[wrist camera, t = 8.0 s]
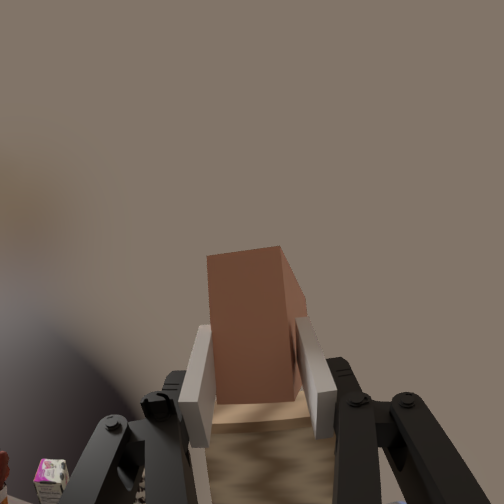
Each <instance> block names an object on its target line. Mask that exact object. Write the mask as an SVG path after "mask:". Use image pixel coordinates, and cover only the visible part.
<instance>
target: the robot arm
mask: <svg viewBox="0 0 504 504" xmlns="http://www.w3.org/2000/svg"><path fill="white" fill-rule="evenodd" d="M295 333H296V360H297V364H298V369H299V373H300V377H301V381H302V385H303V389H304V393H305V398H306V402H307V406H308V410H309V414H310V419H311V423H312V427H313V431H314V436H315V440H318V439H325V438H331V437H333V434H334V431H335V435H336V442H335V450H334V455H335V464H334V482H333V497H332V504H382V502H381V483H380V470H379V457H378V447H382V449H383V451H384V453H385V455H386V457H387V460H388V462H389V464H390V466H391V468H392V471H393V473H394V475H395V477H396V480H397V482H398V484H399V487H400V489H401V491H402V494H403V496H404V498H405V500H406V503H407V504H491V503H490V501H489V500H488V498H487V497H486V495H485V493H484V492H483V490H482V488H481V487H480V485H479V484H478V483H477V481H476V479H475V478H474V476H473V474H472V473H471V471H470V470H469V468H468V467H467V465H466V463H465V462H464V460H463V459H462V457H461V456H460V454H459V453H458V451H457V450H456V448H455V447H454V445H453V444H452V442H451V441H450V439H449V438H448V436H447V435H446V433H445V432H444V430H443V429H442V427H441V426H440V424H439V423H438V422H437V420H436V419H435V417H434V416H433V414H432V413H431V411H430V410H429V409H428V407H427V406H426V404H425V403H424V401H423V400H422V398H420V397H419V396H418V395H417V394H414V393H410V392H403V393H399V394H397V395H395V396H394V397H393V399H392V401H391V402H380V401H374V400H372V399H371V397H370V396H369V395H368V394H366V393H363V392H362V390H361V388H360V386H359V384H358V381H357V380H356V377H355V375H354V374H353V371H352V370H351V367H350V365H349V363H348V362H347V361H346V360H345V359H343V358H342V357H336V358H329V359H325V357H324V354H323V351H322V349H321V346H320V344H319V341H318V339H317V336H316V334H315V331H314V328H313V326H312V323H311V321H310V318H309V317H298V318H295ZM215 396H216V379H215V367H214V354H213V341H212V331H211V325H199V329H198V332H197V336H196V339H195V342H194V346H193V349H192V353H191V357H190V360H189V364H188V367H187V371H172V372H171V373H170V374H169V375H168V376H167V377H166V379H165V382H164V385H163V388H162V391H155V392H151V393H149V394H147V395H145V396H144V397H143V398H142V400H141V402H140V404H141V406H142V409H143V412H144V415H145V417H146V418H145V419H142V420H138V421H132V422H127V420H126V418H124V417H123V416H121V415H110V416H106V417H105V418H103V419H102V420H101V421H100V422H99V423H98V425H97V427H96V429H95V431H94V433H93V434H92V436H91V438H90V440H89V442H88V444H87V446H86V448H85V450H84V452H83V454H82V456H81V458H80V460H79V461H78V463H77V465H76V467H75V469H74V471H73V473H72V475H71V477H70V479H69V481H68V483H67V485H66V487H65V489H64V491H63V493H62V495H61V497H60V500H59V502H58V504H133V503H134V500H135V497H136V493H137V490H138V487H139V484H140V481H141V477H142V474H143V471H144V468H145V503H146V504H198V501H197V495H196V489H195V483H194V477H193V471H192V464H191V458H190V453H189V450H188V444H189V441H190V444H191V447H192V448H209V444H210V436H211V428H212V420H213V412H214V404H215Z"/></svg>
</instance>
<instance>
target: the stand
mask: <svg viewBox="0 0 504 504" xmlns="http://www.w3.org/2000/svg"><path fill="white" fill-rule="evenodd" d="M335 442H336V435H335V431H334V434H333V437H331V438H325V439H318V440H315V436H314V431H313V427H312V423H311V419H310V414H309V410H308V406H307V402H306V398H305V393H304V391H299V393H298V395H297V397H296V399H295V401H294V402H280V403H262V404H227V405H217V400H216V401H215V404H214V412H213V420H212V428H211V436H210V444H209V448H205V454H206V461H207V470H208V477H209V483H210V491H211V497H212V504H332V497H333V482H334V464H335V455H334V450H335Z"/></svg>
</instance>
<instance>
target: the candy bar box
mask: <svg viewBox="0 0 504 504" xmlns="http://www.w3.org/2000/svg"><path fill="white" fill-rule="evenodd" d="M68 481H69V475H68V471H67V466H66V461H65V460H56V459H41V462H40V465H39V467H38V470H37V473H36V476H35V478H34V481H33V482H34V486H35V489H36V492H37V496H38V499H39V502H40V504H58V502H59V500H60V497H61V495H62V493H63V491H64V489H65V487H66V485H67V483H68Z"/></svg>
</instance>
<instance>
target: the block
mask: <svg viewBox="0 0 504 504" xmlns="http://www.w3.org/2000/svg"><path fill="white" fill-rule="evenodd" d="M207 271H208V288H209V289H208V290H209V307H210V323H211V331H212V341H213V354H214V367H215V379H216V397H217V405H227V404H262V403H280V402H294V401H295V399H296V397H297V395H298V393H299V390H300V388H301V386H302V381H301V377H300V373H299V369H298V364H297V360H296V333H295V318H298V317H307V309H306V299H305V296H304V294H303V292H302V290H301V288H300V286H299V284H298V282H297V280H296V278H295V276H294V274H293V271H292V269H291V267H290V265H289V263H288V261H287V259H286V257H285V255H284V253H283V251H282V249H281V247H280V246H275V247H267V248H260V249H253V250H246V251H238V252H231V253H224V254H217V255H210V256H207Z"/></svg>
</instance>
